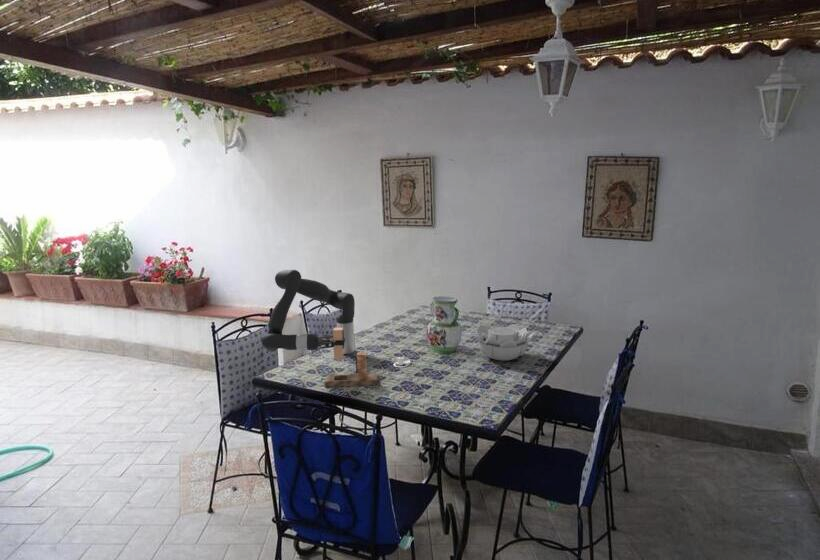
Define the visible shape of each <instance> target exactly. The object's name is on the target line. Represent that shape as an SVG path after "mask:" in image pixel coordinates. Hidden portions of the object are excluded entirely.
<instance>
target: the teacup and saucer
mask: <svg viewBox="0 0 820 560" xmlns="http://www.w3.org/2000/svg"><path fill="white" fill-rule="evenodd" d="M411 363H412V361H411V360H405V358H404V356H399V357H397V361H395V362H394V363H393V367H396V368H405V367H408V366H409V365H410V364H411ZM396 364H397V365H396ZM403 365H404V366H403Z"/></svg>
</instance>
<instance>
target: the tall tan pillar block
mask: <svg viewBox="0 0 820 560" xmlns="http://www.w3.org/2000/svg"><path fill="white" fill-rule="evenodd" d="M332 332H333V333H332V334H333V335H332V336H333V339H334V340H344V330H343V328H337V327H333V331H332ZM333 339H332V340H333ZM344 347H345V346H344V345H336V346H334V347H333V360H336V361H338V360H339V361H340V360H344V355H345V354H344V353H343V349H344Z"/></svg>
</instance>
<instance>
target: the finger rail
mask: <svg viewBox="0 0 820 560" xmlns="http://www.w3.org/2000/svg"><path fill="white" fill-rule="evenodd" d="M355 366H356V367H355V370H356V371H355V372H356V373H355V374H354V373H353V374H330V375H329V374H328V375H327V374H326V377H325V380H324V387H325V388H329V387H332V388H333V387H354V386H377V385H378V379H379V378H378V373H368V372H367V371H368V370H367V369H368V368H367V351H361V352H357V351H356V354H355Z"/></svg>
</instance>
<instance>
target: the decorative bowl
mask: <svg viewBox="0 0 820 560" xmlns="http://www.w3.org/2000/svg"><path fill="white" fill-rule="evenodd" d="M475 331H476V333H475V334H474V338H475V340H476V341H477V343H478V347H479V349H480V351H481V353H482V354H483V355H484V356H485V357H487V358H491V359H493V360H496V361H501V362H503V361H504V362H506V361H507V362H508V361H511V360H514V359H517V358H519V357H521V356H523V354H524V353H525V352H526V350H527V348H528V345H529V344H528V343H530V342H531V341H532V340H533V338H534V336H535V332H532V333H531V334H529V335H528V331H527V327H523V328H521V329H520V328H519V325H517V324H516V323H512V324H510V325H508V326H505V327H504V326H503V325H501V324H499V323H495V324H494V325H493V326H492V327H491V326H485V324H484V325H483V324H479V326H478V329H477V328H476V330H475Z"/></svg>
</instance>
